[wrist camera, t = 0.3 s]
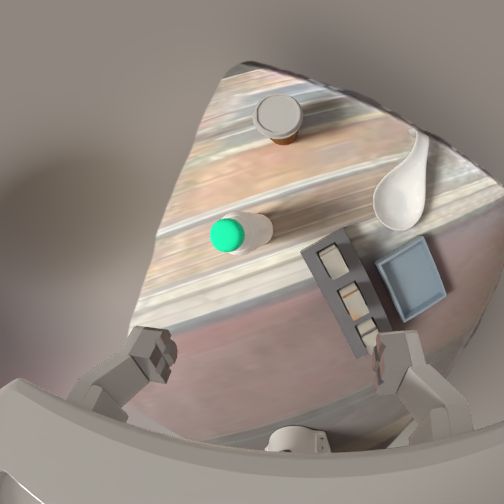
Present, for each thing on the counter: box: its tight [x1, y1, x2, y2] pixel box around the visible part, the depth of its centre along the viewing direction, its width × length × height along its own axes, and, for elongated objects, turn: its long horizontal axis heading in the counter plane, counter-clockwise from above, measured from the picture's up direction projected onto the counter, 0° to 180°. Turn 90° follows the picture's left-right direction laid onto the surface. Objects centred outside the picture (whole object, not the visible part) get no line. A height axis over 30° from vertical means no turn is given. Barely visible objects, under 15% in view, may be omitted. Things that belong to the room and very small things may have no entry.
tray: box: [374, 235, 447, 323], centre depth 56 cm, size 15×12×4 cm
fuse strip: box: [300, 228, 393, 359], centre depth 59 cm, size 27×10×4 cm, turn 30°
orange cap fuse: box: [339, 282, 370, 321], centre depth 56 cm, size 5×4×9 cm
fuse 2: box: [357, 318, 379, 357], centre depth 56 cm, size 5×4×9 cm
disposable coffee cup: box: [253, 93, 303, 145], centre depth 54 cm, size 10×10×12 cm
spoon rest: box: [373, 129, 429, 231], centre depth 53 cm, size 24×12×7 cm, turn 159°
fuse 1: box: [319, 244, 349, 280], centre depth 56 cm, size 5×4×9 cm
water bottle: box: [210, 211, 273, 255], centre depth 51 cm, size 7×7×25 cm
